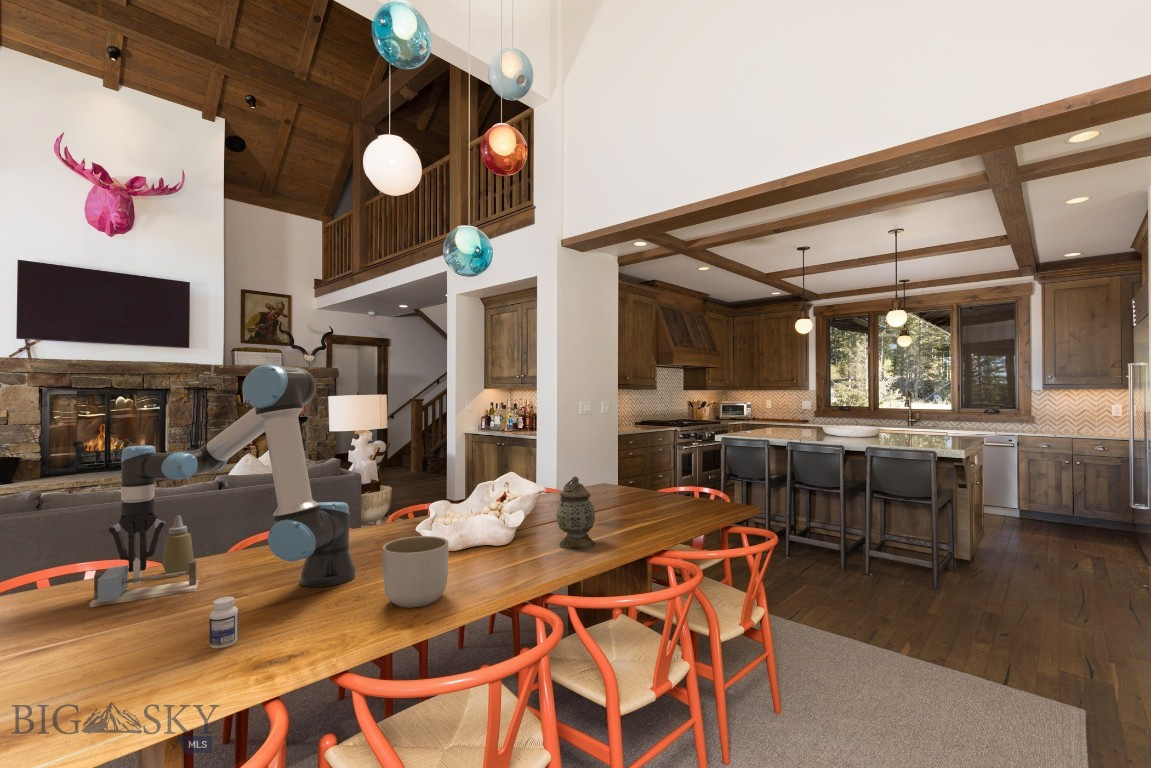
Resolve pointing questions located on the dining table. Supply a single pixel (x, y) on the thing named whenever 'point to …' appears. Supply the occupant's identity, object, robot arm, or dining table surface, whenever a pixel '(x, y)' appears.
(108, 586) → the block
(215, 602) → the pill bottle
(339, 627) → the dining table surface
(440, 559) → the planter
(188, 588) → the rail
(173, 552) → the squeeze bottle
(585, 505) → the lantern
